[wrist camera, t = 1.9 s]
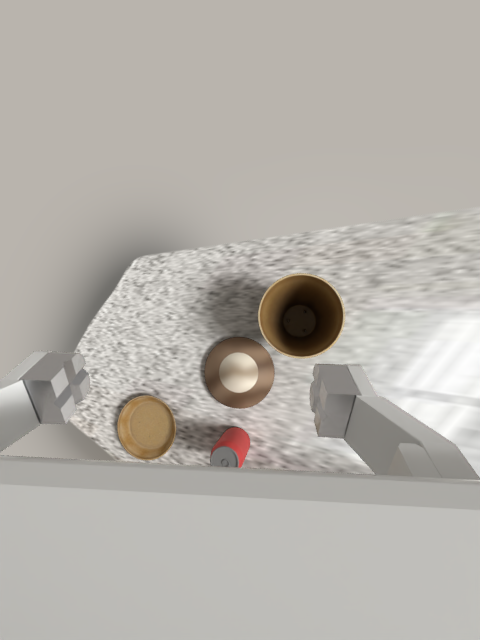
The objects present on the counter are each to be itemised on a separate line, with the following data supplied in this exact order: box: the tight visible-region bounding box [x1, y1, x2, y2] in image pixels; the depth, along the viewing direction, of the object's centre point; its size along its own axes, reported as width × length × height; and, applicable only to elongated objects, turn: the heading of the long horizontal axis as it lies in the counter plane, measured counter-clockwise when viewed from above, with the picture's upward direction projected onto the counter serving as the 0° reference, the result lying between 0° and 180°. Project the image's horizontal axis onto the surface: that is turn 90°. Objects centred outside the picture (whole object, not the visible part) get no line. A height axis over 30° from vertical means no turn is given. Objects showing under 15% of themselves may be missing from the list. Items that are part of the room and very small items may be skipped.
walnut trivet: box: [204, 337, 274, 409], centre depth 68 cm, size 16×16×2 cm
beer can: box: [210, 427, 250, 468], centre depth 61 cm, size 7×7×12 cm
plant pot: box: [258, 273, 345, 358], centre depth 59 cm, size 15×15×16 cm
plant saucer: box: [117, 395, 176, 460], centre depth 70 cm, size 15×15×3 cm
